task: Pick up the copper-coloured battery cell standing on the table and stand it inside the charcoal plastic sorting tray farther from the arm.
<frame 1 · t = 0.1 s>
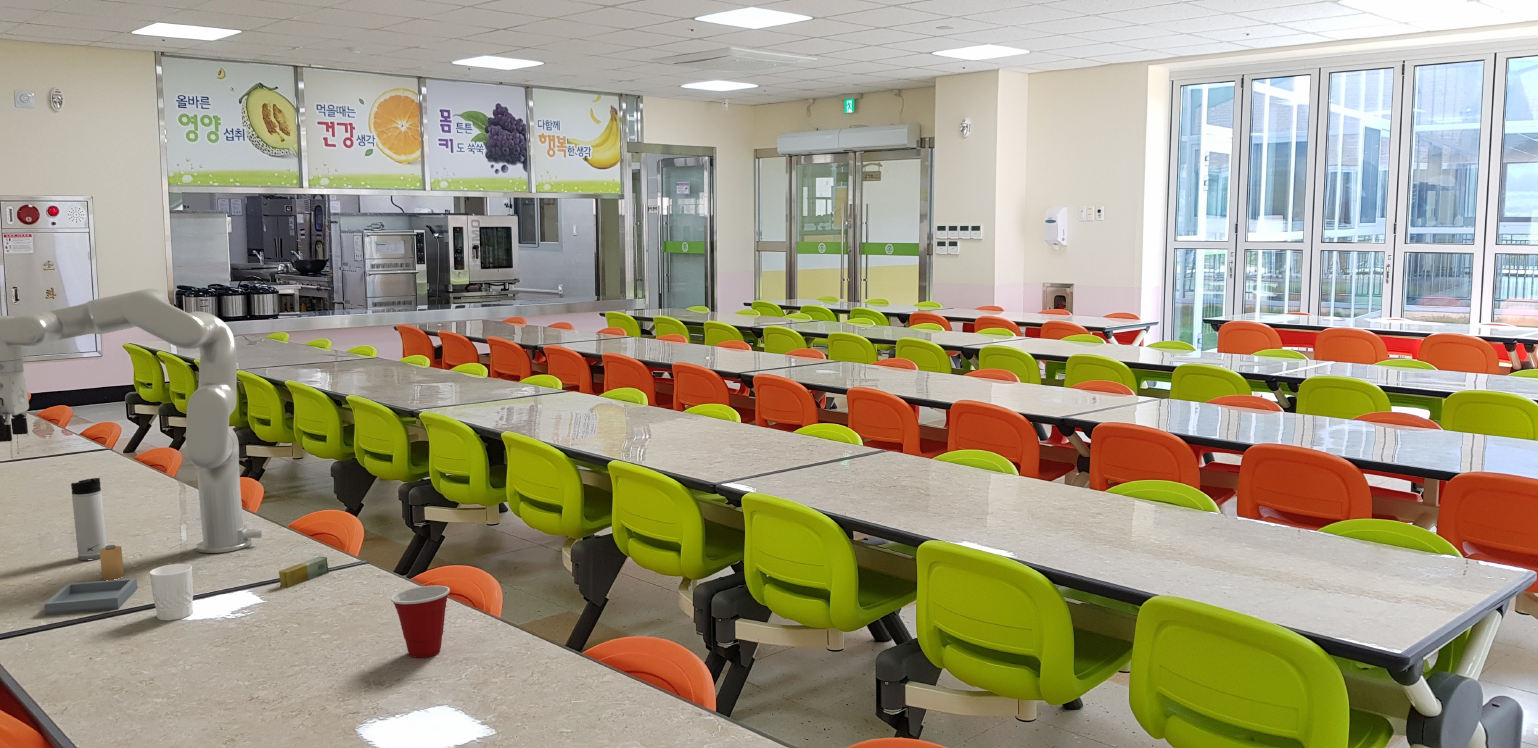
hand: (12, 437, 276), 31 cm above the table, tool pointing down, fingers open, 9 cm apart
battery cell: (113, 577, 267), on the table
medication box: (304, 581, 263), on the table
white cup: (175, 616, 241), on the table
plastic cup: (424, 653, 217), on the table
travel mug: (93, 558, 284), on the table
sorting tray: (92, 601, 250), on the table
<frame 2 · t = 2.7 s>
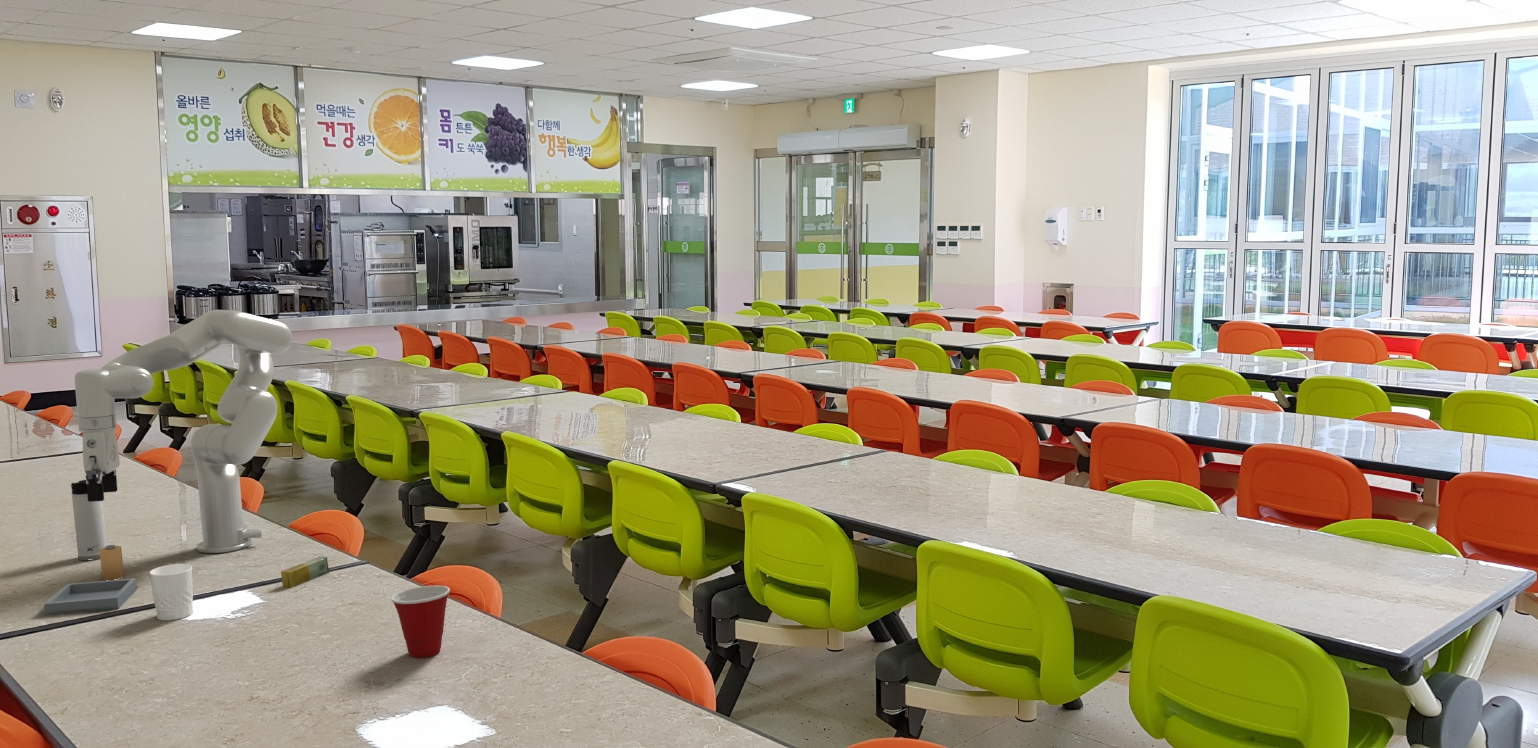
hand: (103, 496, 264), 20 cm above the table, tool pointing down, fingers open, 9 cm apart
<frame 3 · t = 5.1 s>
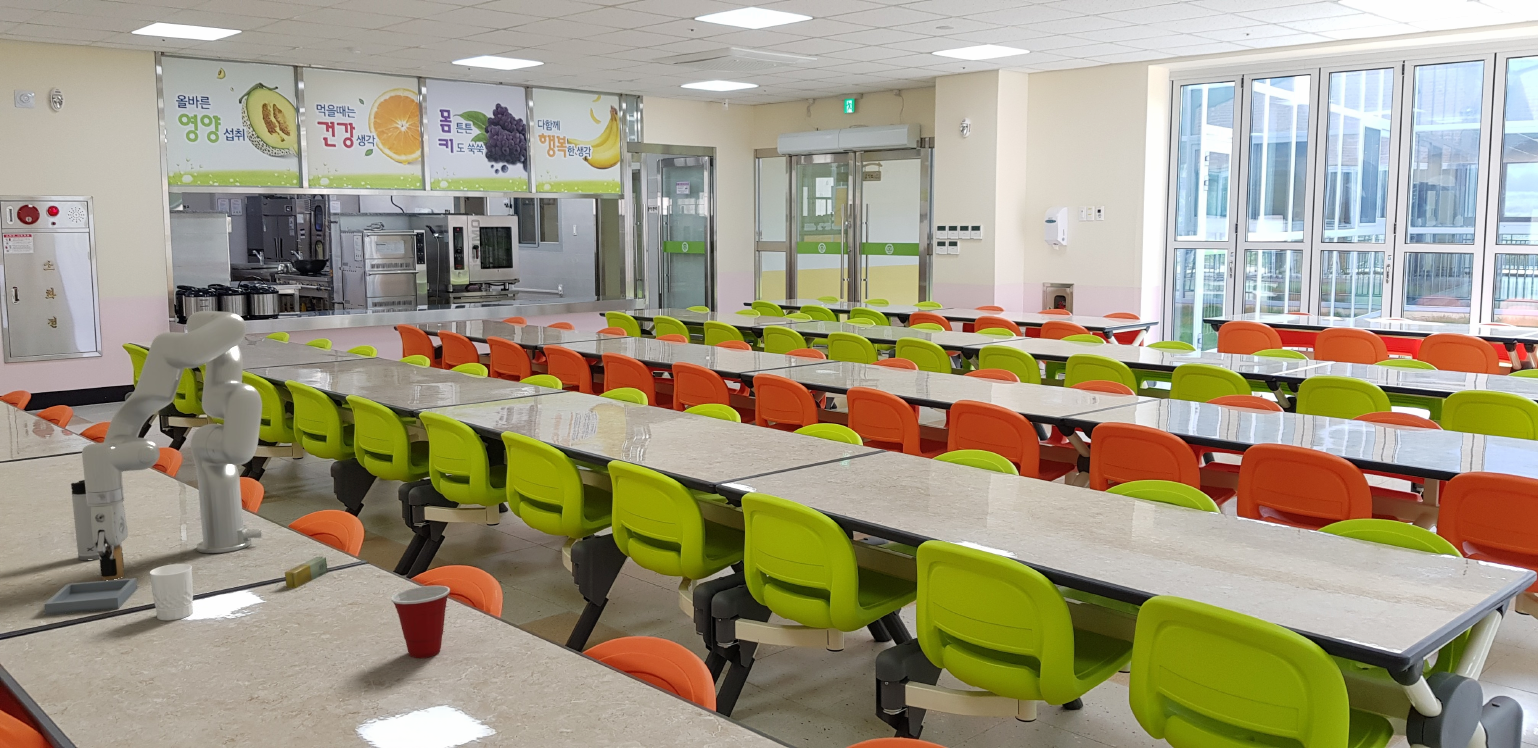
hand: (112, 571, 267), 1 cm above the table, tool pointing down, fingers closed on battery cell, 4 cm apart
battery cell: (113, 577, 267), on the table, touching gripper
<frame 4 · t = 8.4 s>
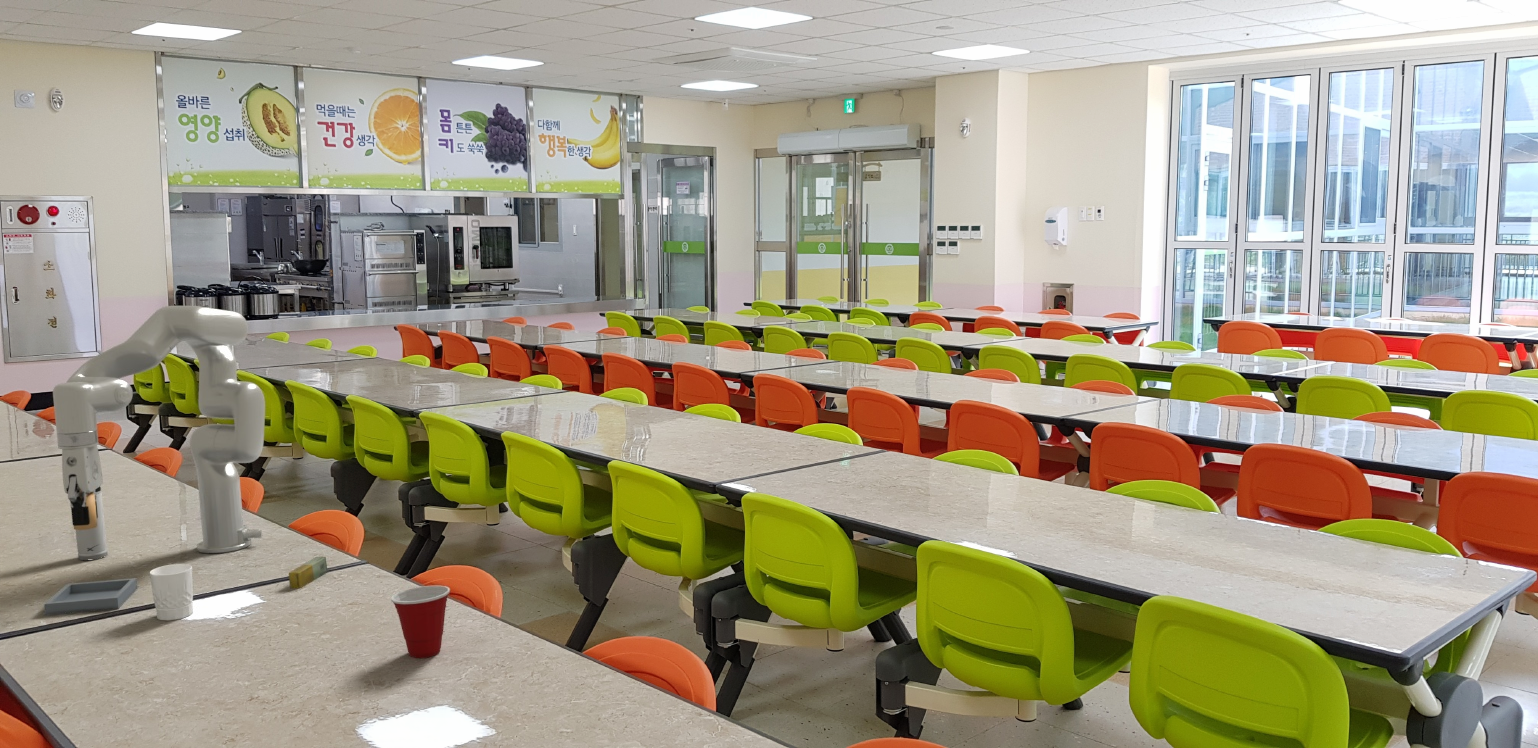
hand: (85, 521, 249), 18 cm above the table, tool pointing down, fingers closed on battery cell, 4 cm apart
battery cell: (85, 527, 249), point 16 cm above the table, touching gripper
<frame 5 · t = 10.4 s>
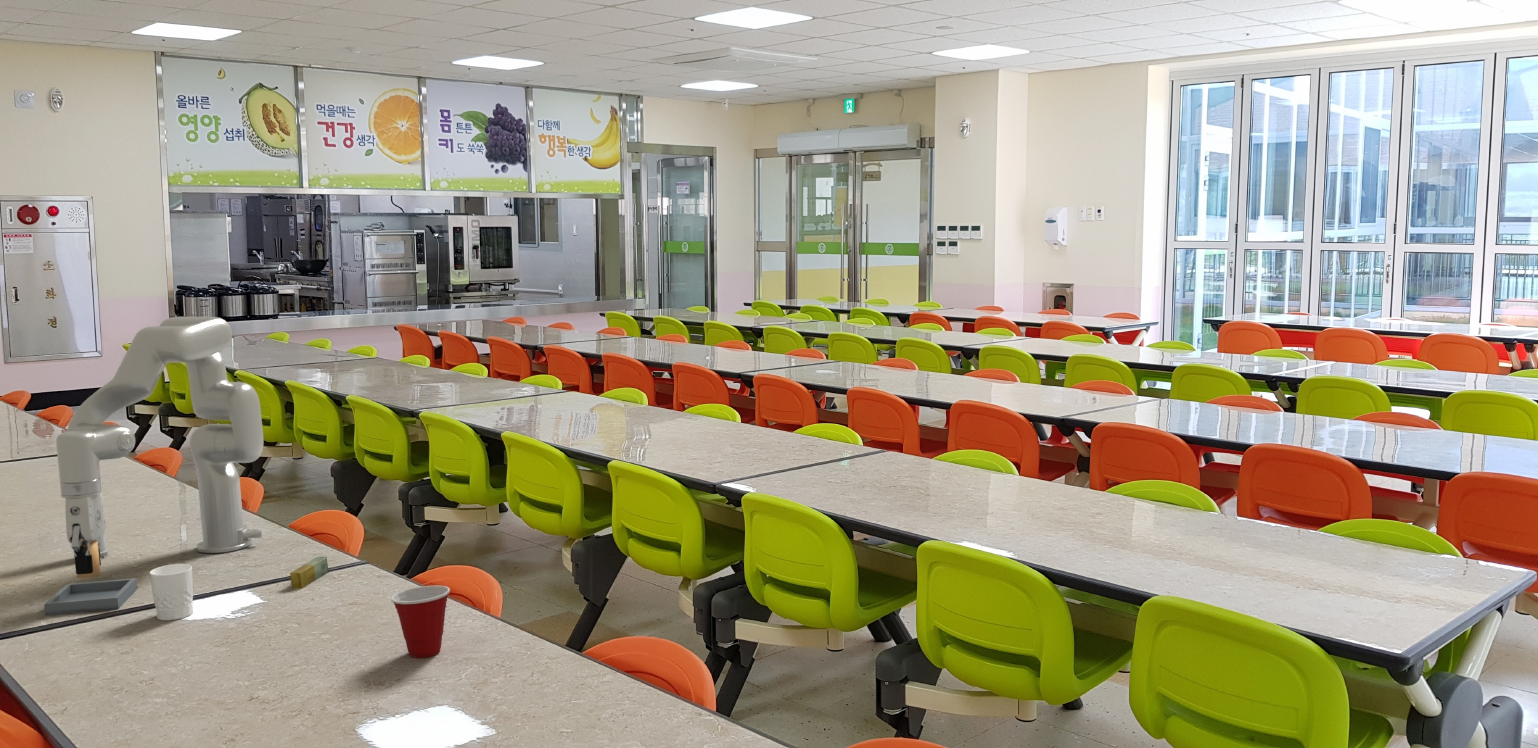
hand: (88, 569, 249), 7 cm above the table, tool pointing down, fingers closed on battery cell, 4 cm apart
battery cell: (88, 575, 249), point 6 cm above the table, touching gripper
when the fingers open (3 cm above the table, at t = 12.0 s): battery cell drops 1 cm, resting on sorting tray.
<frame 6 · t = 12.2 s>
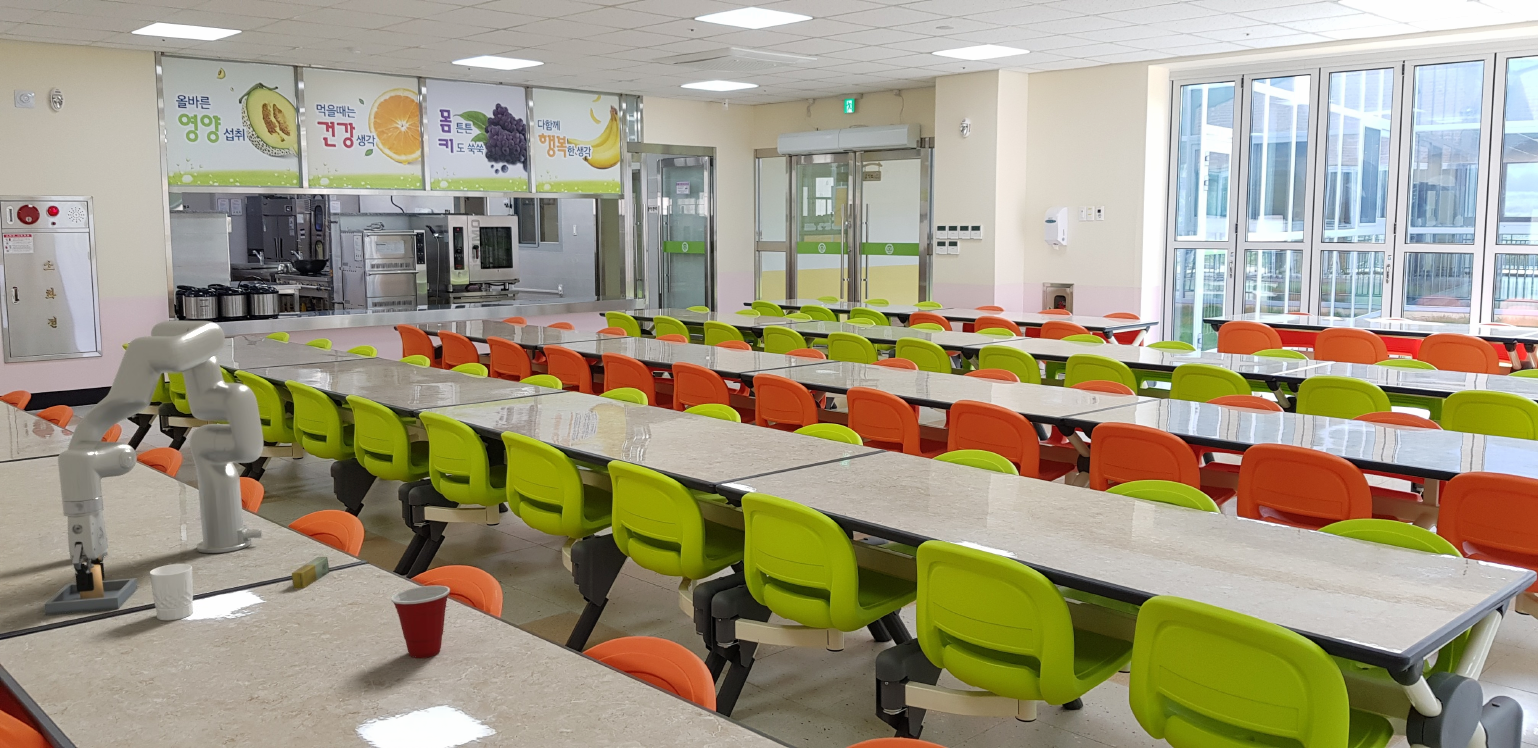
hand: (91, 585, 250), 4 cm above the table, tool pointing down, fingers open, 6 cm apart
battery cell: (92, 598, 250), point 1 cm above the table, touching sorting tray
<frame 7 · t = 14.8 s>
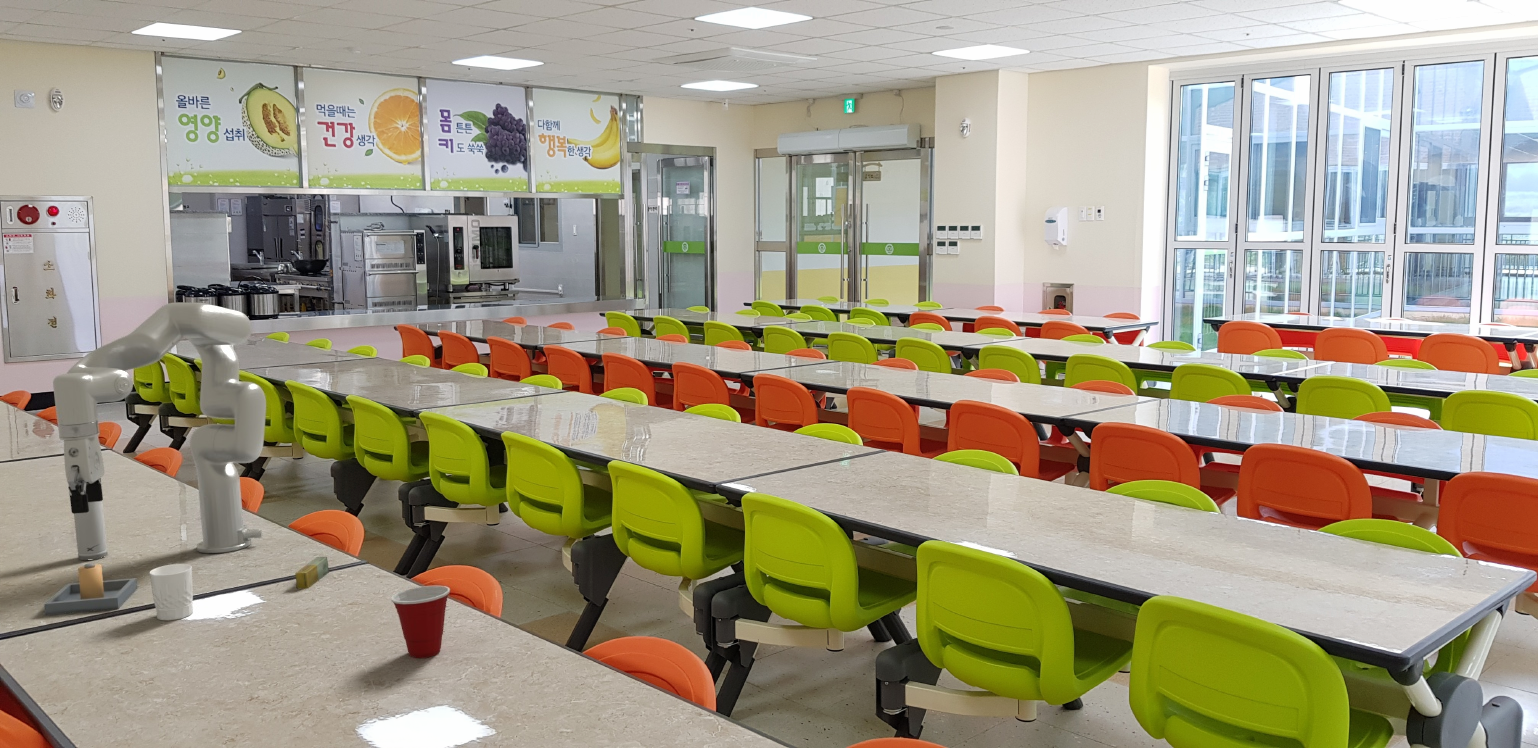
hand: (87, 507, 250), 21 cm above the table, tool pointing down, fingers open, 9 cm apart
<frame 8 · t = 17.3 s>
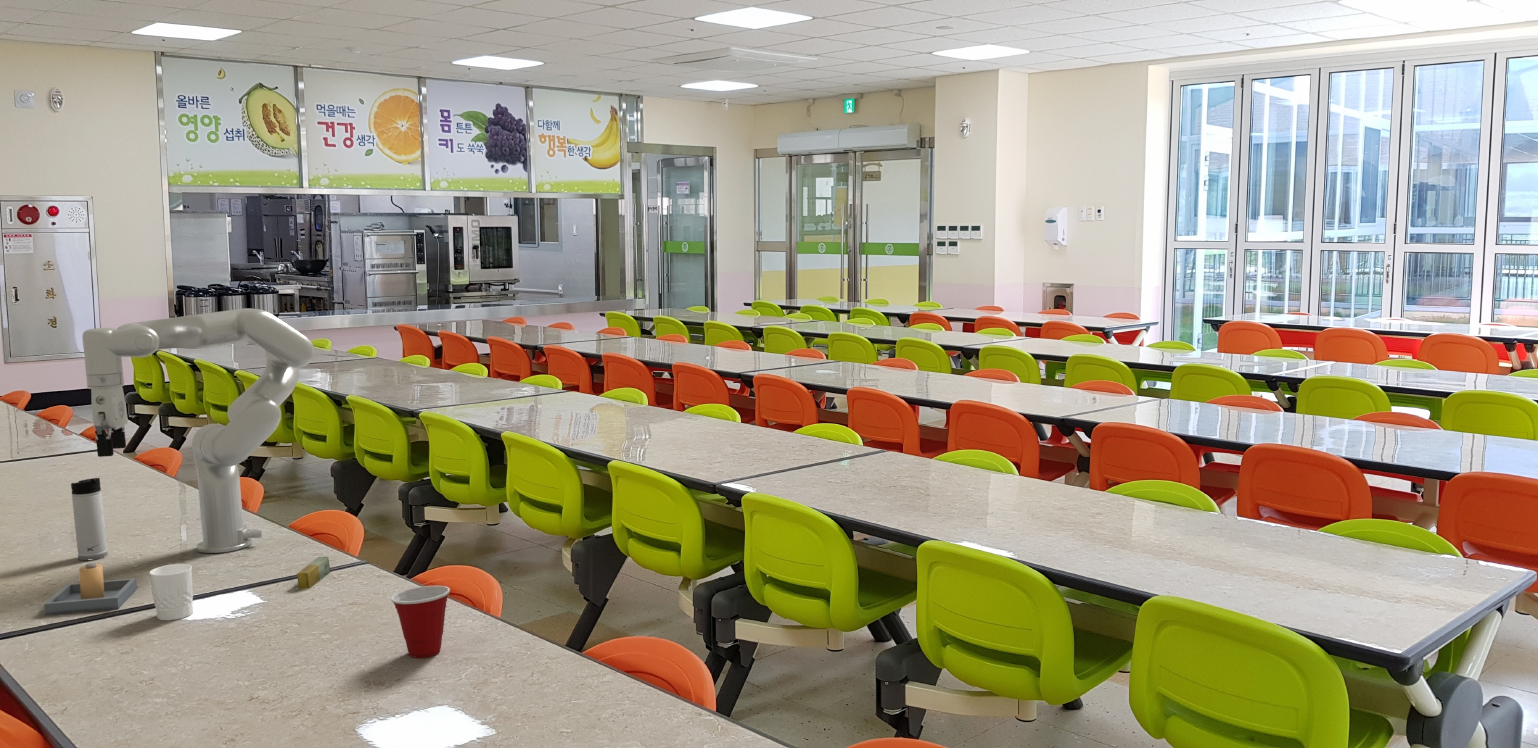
hand: (112, 452, 271), 28 cm above the table, tool pointing down, fingers open, 9 cm apart
at the end: battery cell inside the target area on the sorting tray (0.2 cm from its centre), point 0.7 cm above the sorting tray's base; battery cell tilted 3°; the gripper is holding nothing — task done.
